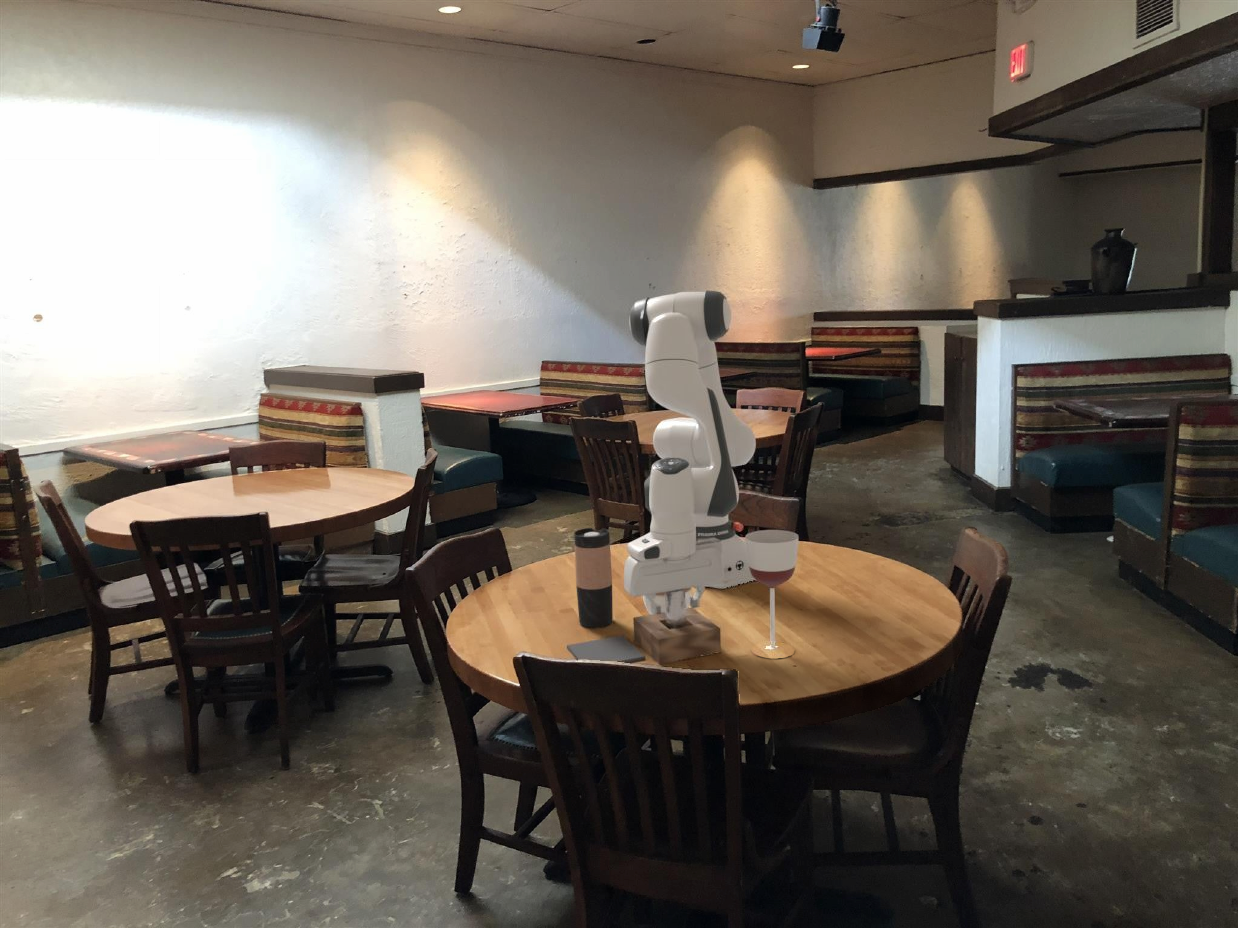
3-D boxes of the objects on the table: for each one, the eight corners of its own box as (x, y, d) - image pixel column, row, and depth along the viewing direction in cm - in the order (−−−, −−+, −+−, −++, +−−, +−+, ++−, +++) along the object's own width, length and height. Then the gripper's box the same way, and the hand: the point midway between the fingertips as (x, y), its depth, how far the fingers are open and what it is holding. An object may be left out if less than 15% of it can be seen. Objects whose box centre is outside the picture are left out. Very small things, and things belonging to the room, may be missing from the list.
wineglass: (742, 643, 186) (740, 531, 181) (791, 639, 187) (791, 528, 182) (752, 661, 177) (751, 544, 172) (804, 657, 178) (804, 541, 173)
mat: (622, 637, 191) (622, 635, 191) (645, 659, 180) (644, 656, 180) (566, 648, 187) (566, 645, 187) (586, 670, 176) (585, 667, 176)
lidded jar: (654, 605, 209) (653, 565, 207) (699, 611, 204) (698, 570, 203) (634, 622, 200) (633, 580, 198) (681, 628, 195) (680, 585, 193)
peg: (681, 641, 188) (680, 584, 186) (690, 648, 184) (688, 590, 182) (663, 644, 187) (661, 587, 184) (671, 651, 183) (669, 593, 181)
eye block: (692, 630, 194) (691, 607, 193) (720, 652, 182) (720, 628, 181) (634, 640, 189) (633, 617, 188) (659, 664, 177) (658, 639, 176)
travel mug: (587, 631, 196) (583, 539, 192) (572, 620, 202) (567, 531, 198) (620, 623, 199) (616, 533, 195) (604, 613, 206) (599, 525, 202)
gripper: (714, 531, 188) (715, 597, 190) (619, 545, 181) (622, 613, 184) (728, 539, 182) (730, 606, 185) (631, 553, 175) (633, 623, 178)
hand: (675, 610), depth 184 cm, fingers open, 7 cm apart
